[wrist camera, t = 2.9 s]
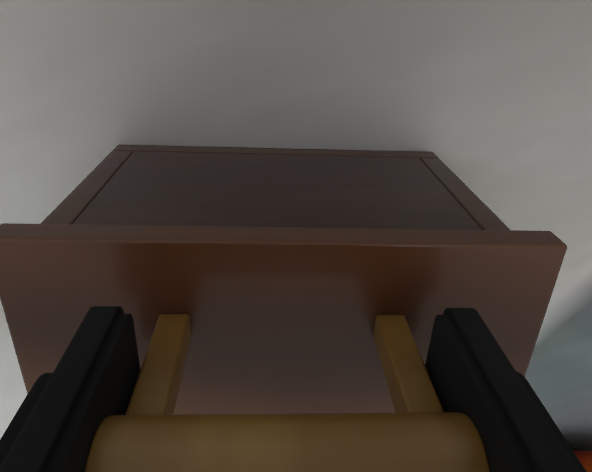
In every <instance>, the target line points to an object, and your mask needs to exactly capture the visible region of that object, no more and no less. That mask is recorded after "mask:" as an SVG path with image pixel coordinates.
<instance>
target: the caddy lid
mask: <svg viewBox="0 0 592 472" xmlns="http://www.w3.org/2000/svg"><path fill="white" fill-rule="evenodd" d="M566 249H567V246H566V244H565V243H563V242H562V241H561V240H560V239H559V238H558V237H557V236H555V235H554V234H553V233H552V232H550V231H511V230H438V229H366V228H293V227H220V226H148V225H75V224H1V225H0V298H1V302H2V305H3V309H4V312H5V316H6V320H7V323H8V327H9V330H10V334H11V337H12V341H13V344H14V348H15V351H16V355H17V358H18V362H19V365H20V369H21V372H22V376H23V379H24V383H25V386H26V390H27V394H28V393H29V391H30V390H31V388H32V386H33V385H34V383H35V381H36V380H37V379H38V378H39V376H40V375H42V374H44V373H53V372H54V370H55V368H56V367H57V365H58V363H59V361H60V360H61V358H62V356H63V354H64V353H65V351H66V349H67V347H68V346H69V344H70V342H71V340H72V338H73V337H74V335H75V333H76V331H77V330H78V328H79V326H80V324H81V323H82V321H83V319H84V317H85V316H86V314H87V312H88V310H89V309H90V308H91V307H93V306H120V307H122V309H123V311H124V314H132V316H133V321H134V328H135V335H136V342H137V350H138V357H139V364H140V373H139V376H138V379H137V382H136V385H135V387H134V390H133V393H132V396H131V399H130V402H129V405H128V408H127V411H126V414H125V415H110V416H108V417H106V418H105V419H103V421H102V422H101V423H100V425H99V427H98V428H97V430H96V433H95V435H94V437H93V440H92V443H91V446H90V449H89V453H88V457H87V461H86V466H85V471H84V472H490V468H489V463H488V458H487V454H486V451H485V447H484V444H483V441H482V439H481V436H480V434H479V432H478V430H477V428H476V426H475V424H474V423H473V421H472V420H471V419H470V418H469V417H468V416H467V415H465V414H464V413H461V412H444V411H443V408H442V406H441V403H440V401H439V398H438V396H437V394H436V391H435V389H434V386H433V384H432V381H431V379H430V377H429V374H428V372H427V369H426V367H425V363H426V359H427V354H428V349H429V344H430V339H431V334H432V329H433V324H434V320H435V317H436V315H443V312H444V310H445V309H446V308H474V309H476V310H477V312H478V313H479V315H480V316H481V318H482V319H483V321H484V322H485V324H486V326H487V327H488V329H489V330H490V332H491V333H492V335H493V336H494V338H495V340H496V341H497V343H498V344H499V346H500V347H501V349H502V350H503V352H504V354H505V355H506V357H507V358H508V360H509V361H510V363H511V364H512V366H513V367H514V369H515V371H517V372H519V373H521V374H522V375H523V376H524V377H525V374H526V371H527V368H528V365H529V362H530V359H531V356H532V353H533V349H534V346H535V343H536V340H537V337H538V334H539V331H540V328H541V325H542V322H543V319H544V316H545V313H546V310H547V307H548V304H549V301H550V298H551V295H552V292H553V289H554V286H555V283H556V280H557V277H558V273H559V270H560V267H561V264H562V261H563V258H564V255H565V252H566Z"/></svg>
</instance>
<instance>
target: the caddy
mask: <svg viewBox="0 0 592 472" xmlns="http://www.w3.org/2000/svg"><path fill="white" fill-rule="evenodd" d="M41 224H75V225H148V226H220V227H293V228H366V229H438V230H510V229H509V228H508V227H507V226H506V225H505V224H504V223H503V222H502V221H501V220H500V219H499V218H498V217H497V216H496V215H495V214H494V213H493V212H492V211H491V210H490V209H489V208H488V207H487V206H486V205H485V204H484V203H483V202H482V201H481V200H480V199H479V198H478V197H477V196H476V195H475V194H474V193H473V192H472V191H471V190H470V189H469V188H468V187H467V186H466V185H465V184H464V183H463V182H462V181H461V180H460V179H459V178H458V177H457V176H456V175H455V174H454V173H453V172H452V171H451V170H450V169H449V168H448V167H447V166H446V165H445V164H444V163H443V162H442V161H441V160H440V159H438V157H437V156H436V155H435V154H434V153H433V152H405V151H362V150H319V149H276V148H233V147H190V146H148V145H118V146H117V147H116V148H115V149H114V150H113V151H112V152H111V153H110V154H109V155H108V156H107V157H106V158H105V159H104V160H103V161H102V162H101V163H100V164H99V165H98V166H97V167H96V168H95V169H94V170H93V171H92V172H91V173H90V174H89V175H88V176H87V177H86V178H85V179H84V180H83V181H82V182H81V183H80V184H79V185H78V186H77V187H76V188H75V189H74V190H73V191H72V192H71V193H70V194H69V195H68V196H67V197H66V198H65V199H64V200H63V201H62V202H61V203H60V204H59V205H58V206H57V208H56V209H55V210H54V211H53V212H52V213H51V214H50V215H49V216H48V217H47V218H46V219H45V220H44V221H43V222H42V223H41Z"/></svg>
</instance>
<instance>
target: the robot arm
mask: <svg viewBox="0 0 592 472" xmlns="http://www.w3.org/2000/svg"><path fill="white" fill-rule="evenodd" d="M425 367H426V369H427V372H428V374H429V377H430V379H431V381H432V384H433V386H434V389H435V391H436V394H437V396H438V398H439V401H440V403H441V406H442V408H443V411H444V412H461V413H464V414H465V415H467V416H468V417H469V418H470V419H471V420H472V421H473V423H474V424H475V426H476V428H477V430H478V432H479V434H480V436H481V439H482V441H483V444H484V447H485V451H486V454H487V458H488V463H489V468H490V472H587V471H586V470H585V468H584V467H583V465H582V464H581V462H580V461H579V459H578V458H577V456H576V454H575V453H574V451H573V450H572V448H571V447H570V445H569V444H568V442H567V441H566V439H565V438H564V436H563V435H562V433H561V432H560V430H559V429H558V427H557V426H556V424H555V422H554V421H553V419H552V418H551V416H550V415H549V413H548V412H547V410H546V409H545V407H544V406H543V404H542V403H541V401H540V400H539V398H538V397H537V395H536V394H535V392H534V390H533V389H532V387H531V386H530V384H529V383H528V381H527V380H526V379H525V377H524V376H523V375H522V374H521V373H519V372H517V371H515V369H514V367H513V366H512V364H511V363H510V361H509V360H508V358H507V357H506V355H505V354H504V352H503V350H502V349H501V347H500V346H499V344H498V343H497V341H496V340H495V338H494V336H493V335H492V333H491V332H490V330H489V329H488V327H487V326H486V324H485V322H484V321H483V319H482V318H481V316H480V315H479V313H478V312H477V310H476V309H474V308H446V309H445V310H444V312H443V315H436V317H435V320H434V324H433V329H432V334H431V339H430V344H429V349H428V354H427V359H426V363H425ZM139 373H140V364H139V357H138V350H137V342H136V335H135V328H134V321H133V316H132V314H124V311H123V309H122V307H120V306H93V307H91V308H90V309H89V310H88V312H87V314H86V316H85V317H84V319H83V321H82V323H81V324H80V326H79V328H78V330H77V331H76V333H75V335H74V337H73V338H72V340H71V342H70V344H69V346H68V347H67V349H66V351H65V353H64V354H63V356H62V358H61V360H60V361H59V363H58V365H57V367H56V368H55V370H54V372H53V373H44V374H42V375H40V376H39V378H38V379H37V380H36V381H35V383H34V385H33V386H32V388H31V390H30V391H29V393H28V395H27V396H26V398H25V400H24V401H23V403H22V405H21V406H20V408H19V410H18V411H17V413H16V415H15V416H14V418H13V420H12V421H11V423H10V425H9V426H8V428H7V430H6V431H5V433H4V435H3V436H2V438H1V440H0V472H84V471H85V466H86V461H87V457H88V453H89V449H90V446H91V443H92V440H93V437H94V435H95V433H96V430H97V428H98V427H99V425H100V423H101V422H102V421H103V419H105V418H106V417H108V416H110V415H125V414H126V411H127V408H128V405H129V402H130V399H131V396H132V393H133V390H134V387H135V385H136V382H137V379H138V376H139Z"/></svg>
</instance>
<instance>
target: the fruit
mask: <svg viewBox="0 0 592 472" xmlns="http://www.w3.org/2000/svg"><path fill="white" fill-rule="evenodd" d="M574 453H575V454H576V456H577V458H578V459H579V461H580V462H581V464H582V465H583V467H584V468H585V470H586V471H587V472H592V451H574Z"/></svg>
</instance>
